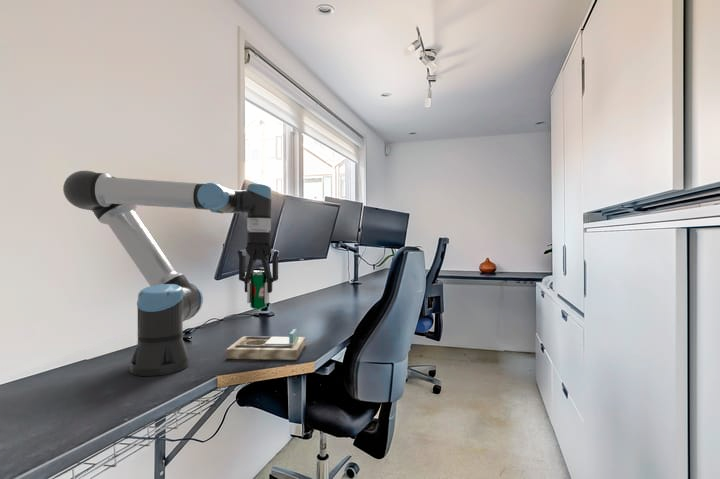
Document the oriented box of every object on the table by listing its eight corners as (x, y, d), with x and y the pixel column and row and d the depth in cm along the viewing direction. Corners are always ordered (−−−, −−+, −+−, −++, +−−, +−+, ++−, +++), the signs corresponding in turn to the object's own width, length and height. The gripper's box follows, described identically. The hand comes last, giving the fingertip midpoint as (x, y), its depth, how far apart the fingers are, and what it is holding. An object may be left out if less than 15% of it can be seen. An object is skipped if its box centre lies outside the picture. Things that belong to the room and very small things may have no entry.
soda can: (261, 309, 125) (262, 272, 125) (247, 308, 126) (247, 271, 126) (268, 307, 130) (269, 270, 130) (255, 306, 131) (255, 270, 131)
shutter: (264, 346, 125) (264, 334, 125) (271, 338, 134) (271, 327, 134) (292, 346, 125) (292, 334, 125) (297, 339, 134) (297, 328, 134)
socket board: (226, 358, 122) (226, 347, 122) (243, 344, 138) (243, 334, 138) (296, 359, 121) (296, 348, 121) (305, 345, 137) (305, 335, 137)
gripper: (227, 231, 125) (226, 303, 125) (283, 231, 124) (282, 305, 124) (236, 231, 132) (235, 300, 133) (289, 232, 131) (288, 301, 131)
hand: (258, 302), depth 128 cm, fingers closed on soda can, 5 cm apart
